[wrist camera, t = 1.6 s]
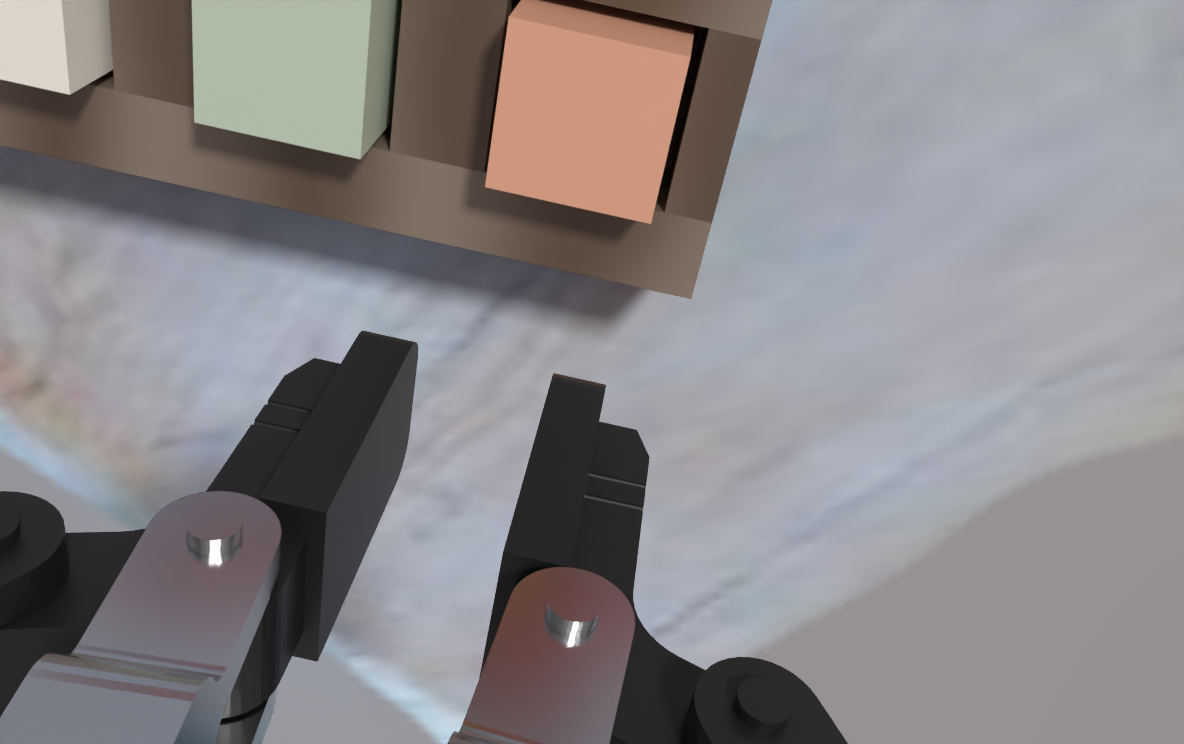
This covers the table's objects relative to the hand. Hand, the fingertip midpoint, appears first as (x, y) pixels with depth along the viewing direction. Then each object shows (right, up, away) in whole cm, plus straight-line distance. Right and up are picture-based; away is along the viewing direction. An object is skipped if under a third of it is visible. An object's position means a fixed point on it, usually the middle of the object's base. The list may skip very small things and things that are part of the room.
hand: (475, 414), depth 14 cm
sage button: (-5, +9, +12) cm, 16 cm away
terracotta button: (+2, +8, +12) cm, 15 cm away
